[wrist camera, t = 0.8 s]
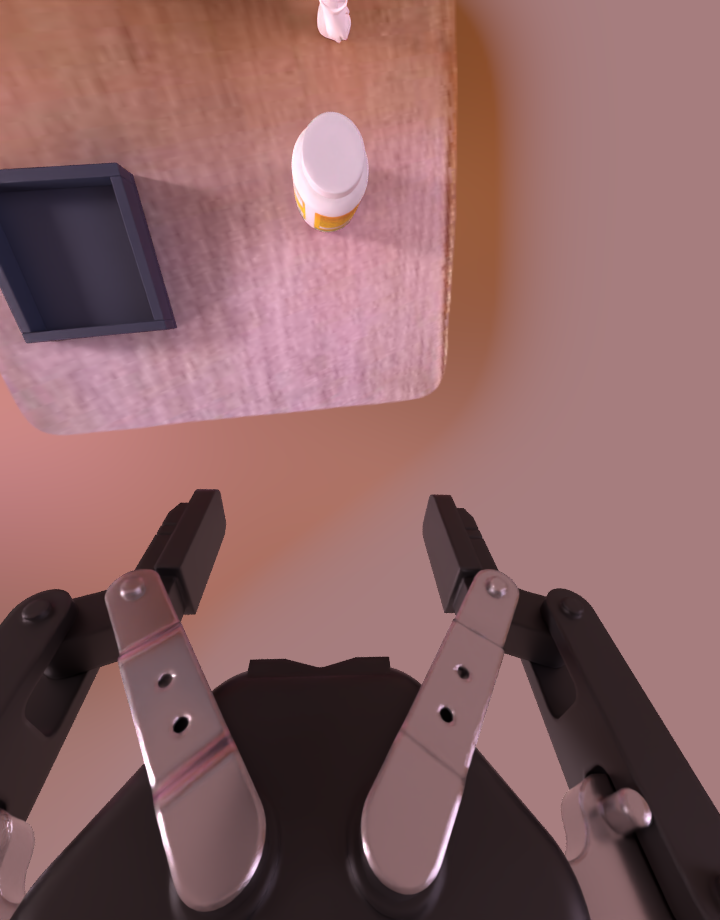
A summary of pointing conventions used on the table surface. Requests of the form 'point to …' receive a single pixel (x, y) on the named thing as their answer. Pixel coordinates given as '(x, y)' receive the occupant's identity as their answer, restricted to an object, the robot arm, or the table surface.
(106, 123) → the table surface
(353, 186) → the supplement bottle
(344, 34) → the hat wearing toy figure
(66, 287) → the tray
